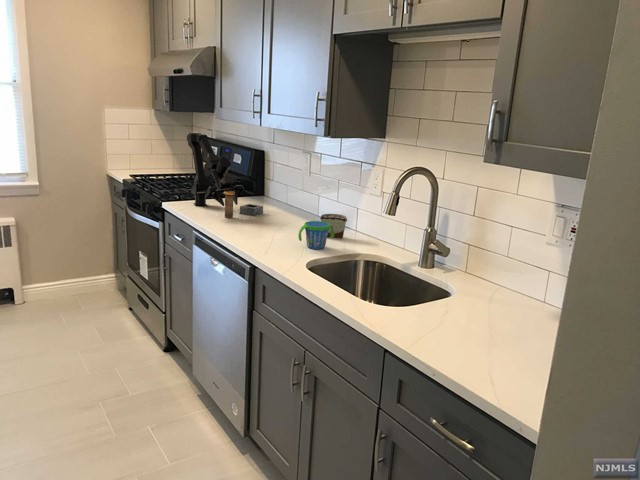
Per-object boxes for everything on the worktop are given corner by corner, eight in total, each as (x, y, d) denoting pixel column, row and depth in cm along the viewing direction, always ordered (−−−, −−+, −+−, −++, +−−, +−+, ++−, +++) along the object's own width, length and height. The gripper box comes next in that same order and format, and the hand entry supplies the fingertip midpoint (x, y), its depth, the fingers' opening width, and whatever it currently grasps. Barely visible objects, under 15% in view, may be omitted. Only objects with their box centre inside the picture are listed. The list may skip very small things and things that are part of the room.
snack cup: (301, 251, 203) (303, 227, 200) (294, 244, 212) (295, 221, 210) (337, 250, 208) (339, 226, 205) (328, 243, 218) (330, 220, 215)
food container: (346, 236, 232) (348, 214, 229) (346, 239, 226) (347, 217, 223) (320, 233, 233) (321, 212, 230) (318, 237, 227) (320, 215, 224)
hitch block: (239, 213, 262) (239, 206, 261) (248, 211, 270) (248, 203, 269) (254, 216, 259) (254, 208, 258) (262, 213, 267) (263, 205, 266)
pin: (222, 216, 254) (222, 190, 250) (232, 216, 256) (233, 190, 252) (224, 218, 249) (225, 192, 246) (235, 218, 251) (236, 192, 248)
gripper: (208, 170, 244) (218, 197, 238) (242, 169, 255) (253, 194, 250) (201, 183, 252) (211, 210, 246) (234, 182, 263) (244, 207, 258)
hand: (230, 205), depth 250 cm, fingers open, 7 cm apart
